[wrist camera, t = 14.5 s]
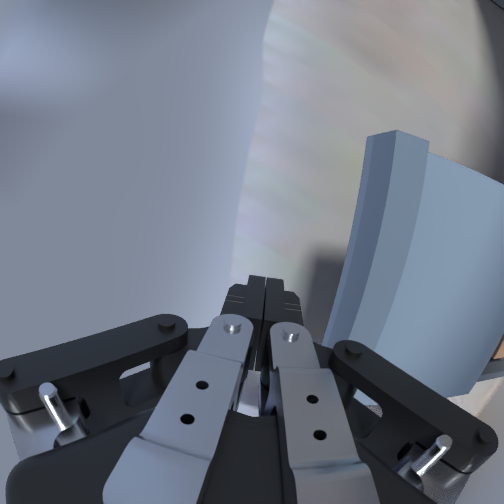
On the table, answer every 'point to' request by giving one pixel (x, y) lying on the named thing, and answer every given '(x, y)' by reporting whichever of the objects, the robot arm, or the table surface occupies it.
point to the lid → (423, 266)
